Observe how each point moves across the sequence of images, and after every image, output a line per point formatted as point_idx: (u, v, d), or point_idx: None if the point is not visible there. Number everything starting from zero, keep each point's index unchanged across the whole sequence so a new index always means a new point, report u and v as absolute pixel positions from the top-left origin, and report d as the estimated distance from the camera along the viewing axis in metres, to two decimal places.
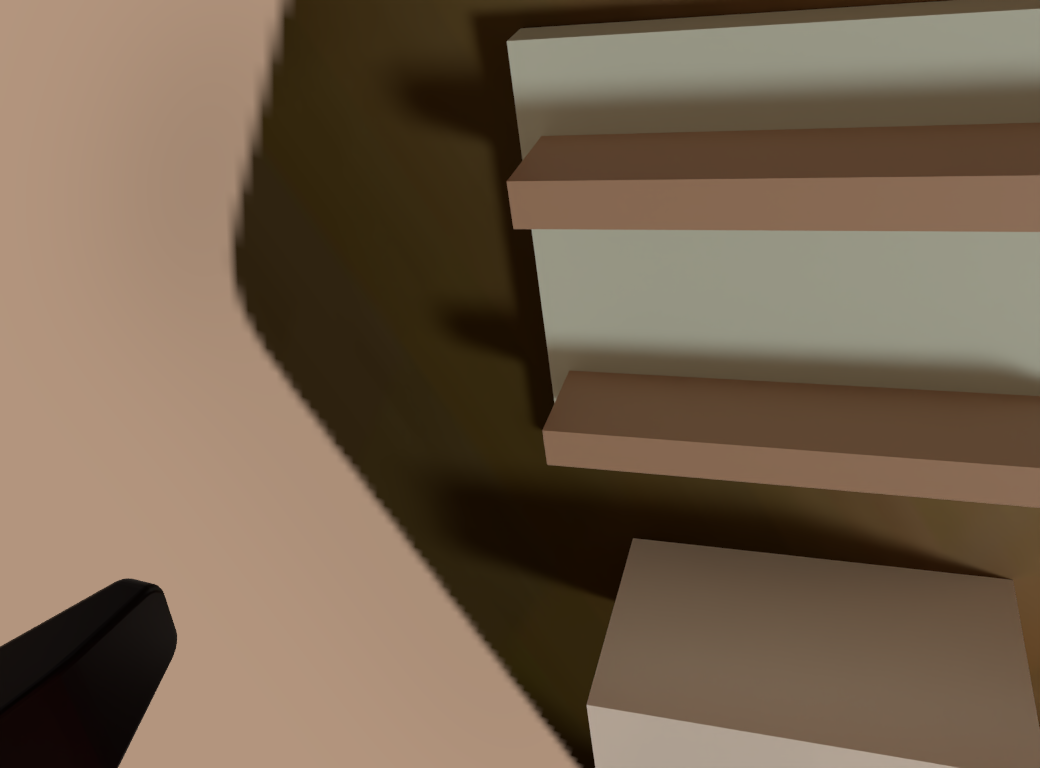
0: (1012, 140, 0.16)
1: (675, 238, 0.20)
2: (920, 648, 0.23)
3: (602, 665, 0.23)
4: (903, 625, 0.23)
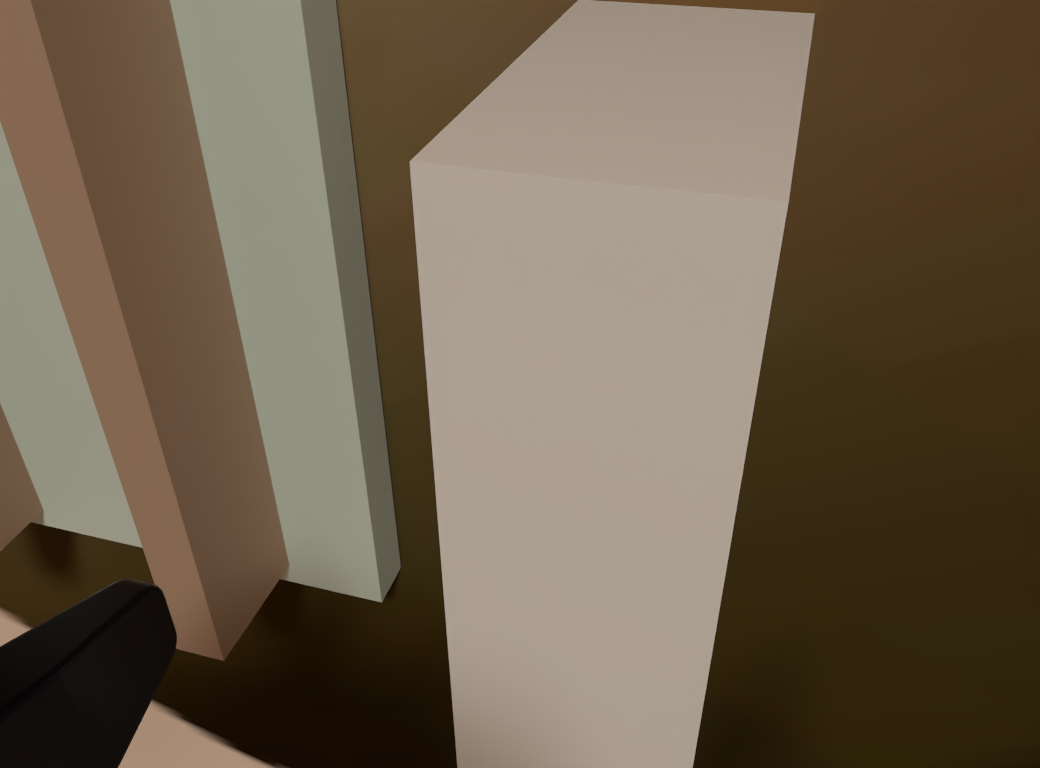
0: None
1: (59, 419, 0.18)
2: None
3: None
4: None
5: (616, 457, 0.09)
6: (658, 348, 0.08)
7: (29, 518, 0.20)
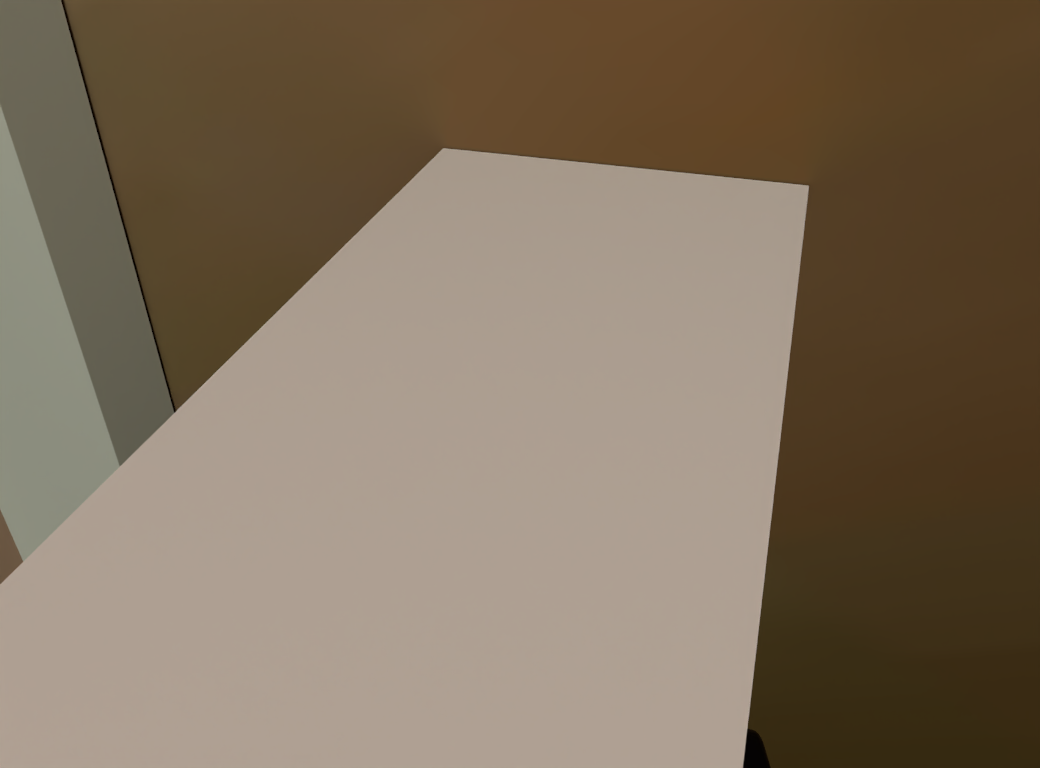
0: None
1: None
2: None
3: None
4: None
5: None
6: None
7: None
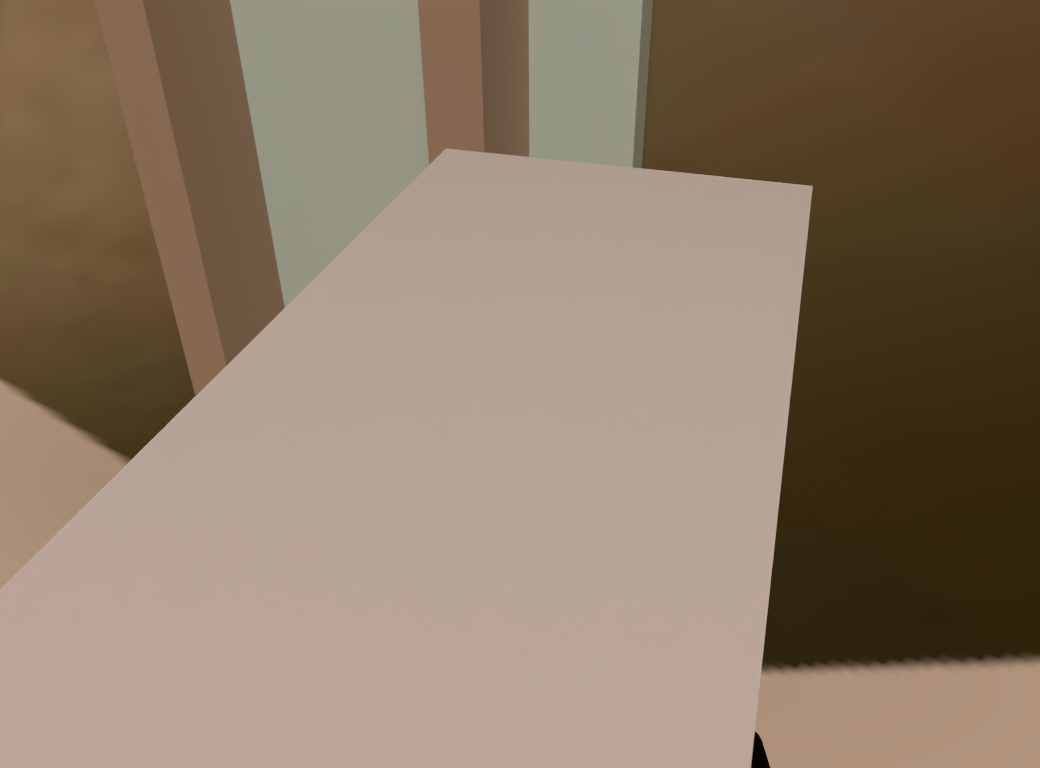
0: None
1: None
2: None
3: None
4: None
5: None
6: None
7: None
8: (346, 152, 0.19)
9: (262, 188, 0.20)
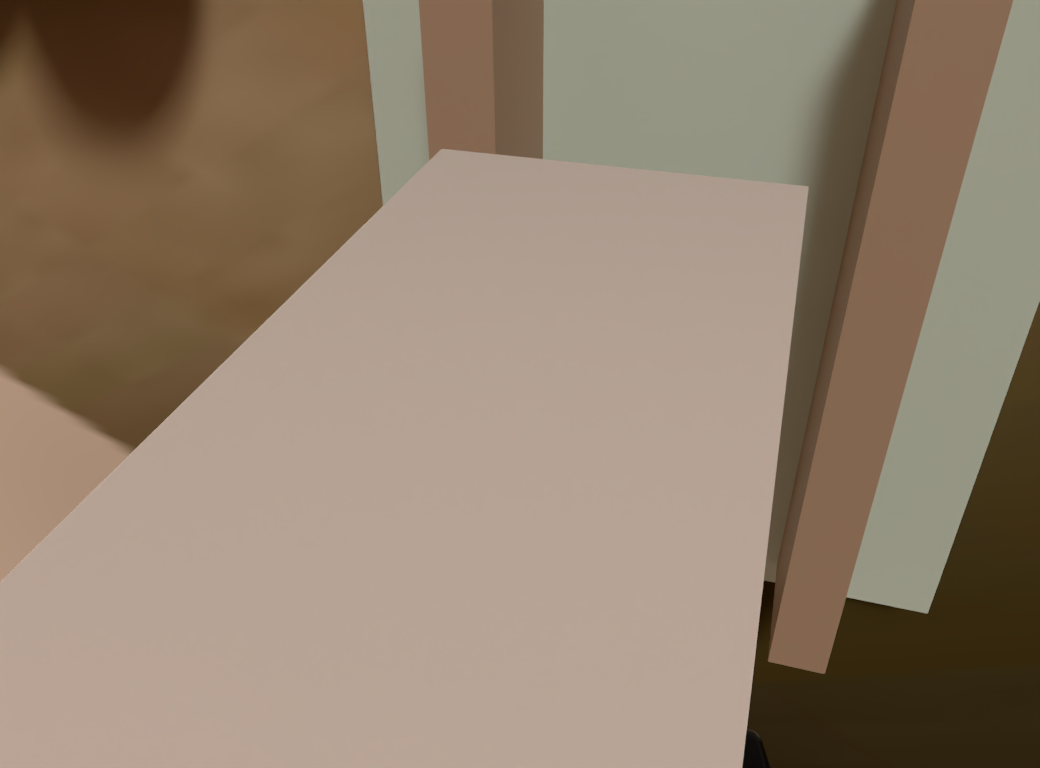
0: None
1: None
2: None
3: None
4: None
5: None
6: None
7: None
8: None
9: None
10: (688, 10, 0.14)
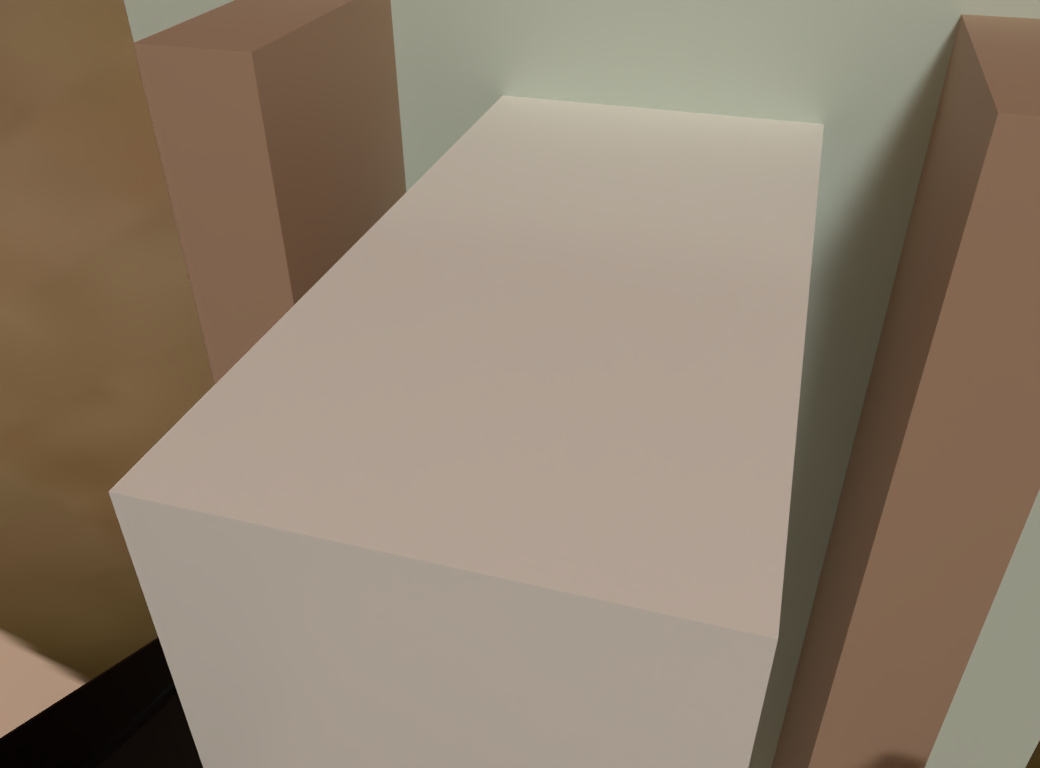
0: None
1: None
2: None
3: None
4: None
5: None
6: None
7: None
8: None
9: None
10: None
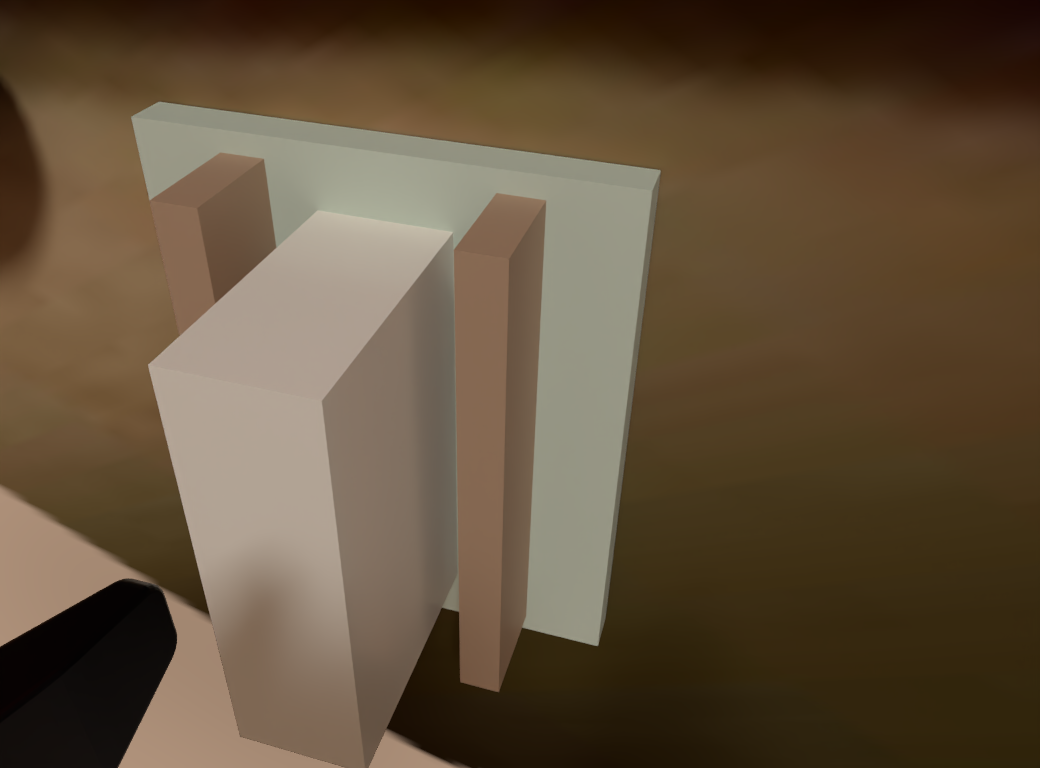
0: None
1: None
2: None
3: None
4: None
5: (275, 513, 0.16)
6: (281, 461, 0.15)
7: None
8: None
9: None
10: None
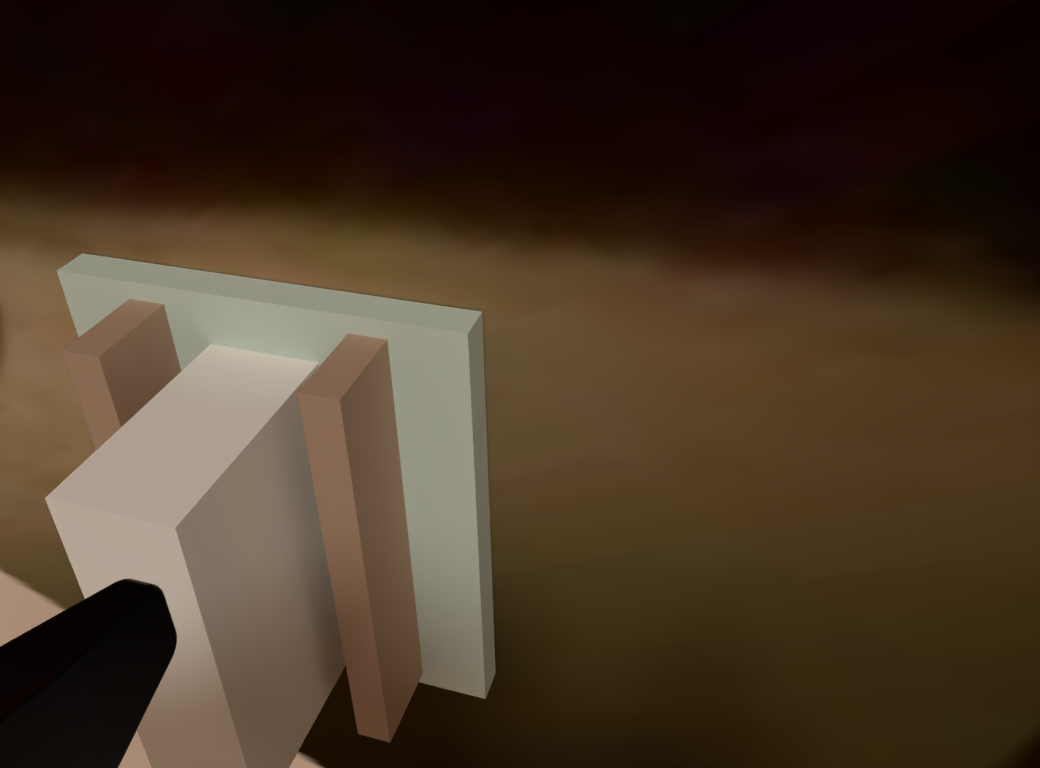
0: None
1: None
2: None
3: None
4: None
5: None
6: (154, 571, 0.19)
7: None
8: None
9: None
10: None
